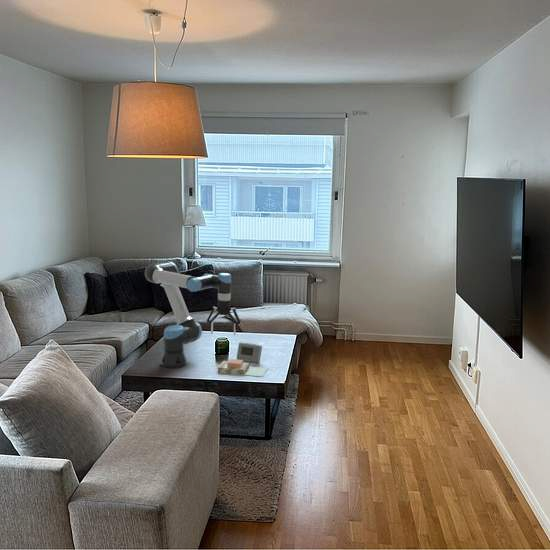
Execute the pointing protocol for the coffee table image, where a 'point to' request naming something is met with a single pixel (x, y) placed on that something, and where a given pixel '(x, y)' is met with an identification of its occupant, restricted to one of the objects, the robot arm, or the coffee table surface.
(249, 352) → the digital clock
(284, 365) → the coffee table surface
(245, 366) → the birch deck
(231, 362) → the terracotta tile
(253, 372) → the sage mat
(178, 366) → the robot arm
